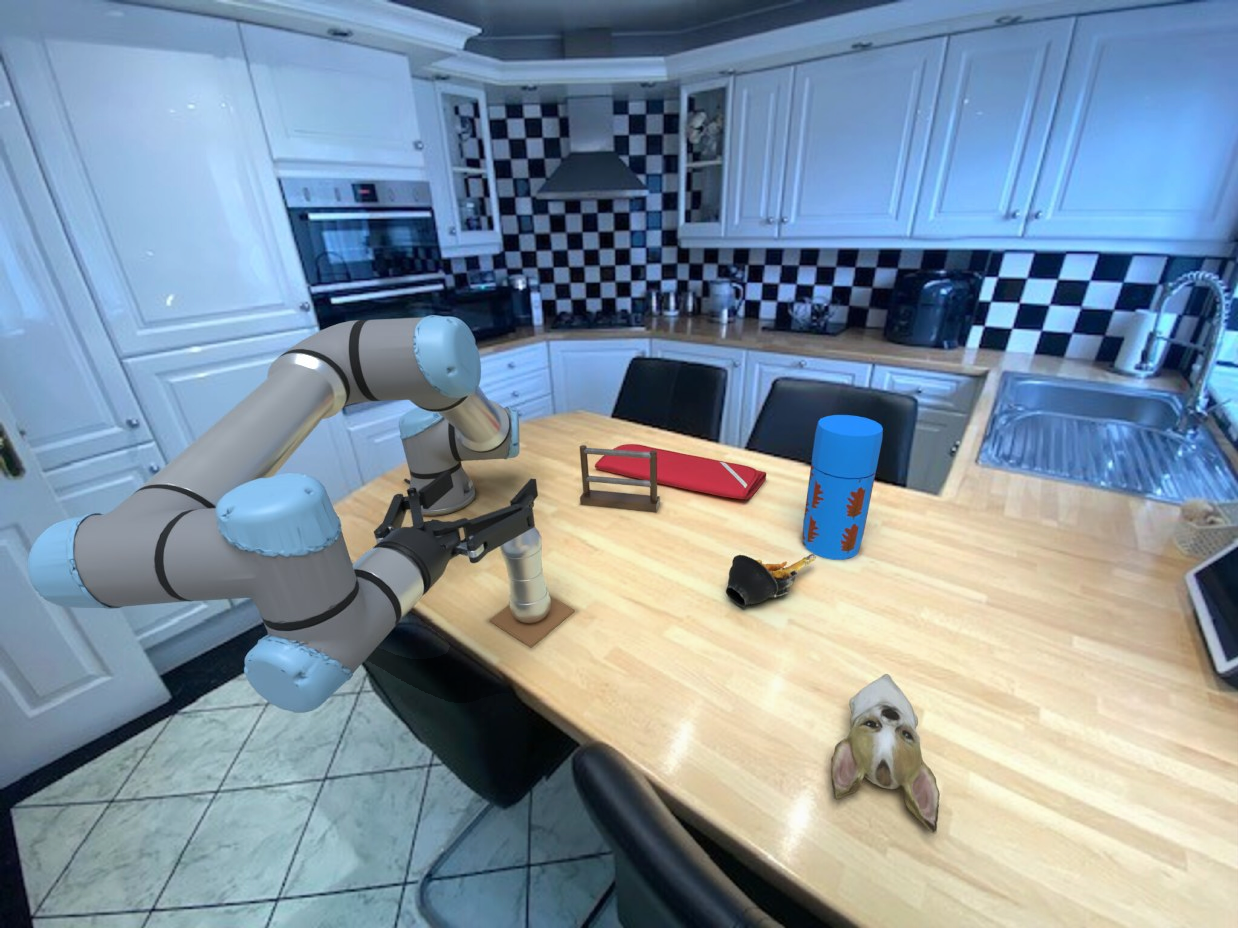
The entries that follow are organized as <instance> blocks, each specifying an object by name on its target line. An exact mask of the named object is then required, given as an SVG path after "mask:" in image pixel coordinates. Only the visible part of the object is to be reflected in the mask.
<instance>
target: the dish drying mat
mask: <svg viewBox="0 0 1238 928" xmlns="http://www.w3.org/2000/svg"><path fill="white" fill-rule="evenodd" d="M612 450H626V451H639V452H650V451H651V450H655V451H657V484H660V485H666V486H670V487H675V488H681V489H685V490H690V491H695V492H700V493H705V494H710V495H715V496H719V497H725V498H730V499H731V498H732V499H739V500H750V499H751V498H752V497H753V496H754V495H755V493H756V492H757V491H758V490H759V488H760V487H761V486H762V485H763V484H764V483H765V482H766V479H767V472H766V471H762V470H758V469H756V468H754V467H752V466H749V465H744V464H740V463H734V462H728V461H723V460H718V459H713V458H709V457H703V456H698V455H693V454H687V453H683V452H678V451H673V450H667V449H662V448H656V447H652V446H648V445H644V444H639V443H637V444H636V443H627V444H626V443H625V444H621V445H618V446H616V447H614V448H613V449H612ZM594 468H595V469H596V470H599V471H605V472H609V473H613V474H616V475H621V476H625V477H631V478H634V479H637V480H646V481H650V459H647V458H634V457H620V456H607V455H602V457H600V458H599V459H598V461H596V463H595V464H594Z"/></svg>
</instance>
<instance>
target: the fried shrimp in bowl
mask: <svg viewBox="0 0 1238 928" xmlns="http://www.w3.org/2000/svg"><path fill="white" fill-rule="evenodd" d="M816 556H817V555H816V554H814V553H811V554H809V555H807V556H806V557H803V558H802V559H801V560H799V561H797V562H795V563H793V564H791V565H789V566H787V564H788V561H783V562H782V563H763V560H762V559H755V558H753V557H751V556H747V555H745V554H737V555H735V556H734V557H733V558H732V565H731V566H730V569H729V570H728V580H727V587H726V588H725V594H726V596H727V597H728V599H730V600H731V601H732V602H733V603H734V604H736V605H737V606H738V607H740V608H745V607H746V606H747V605H755V604H760V603H762V602H763V601H765V600H767V599H768V598H770V599H774V598H777V597H781V596H783V595H786V594H788V593H789V591H790V590H789V588H790V587H791V586H792V585H793V584H794V583H795V581H796V578H797V576H798V574H799V573H798V572H799V571H800V570H801V569H802V568H803V567H804V566H807V565H809V564H810V563H812V562H814V561H816V558H817V557H816ZM785 566H786V567H785Z"/></svg>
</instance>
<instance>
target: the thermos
mask: <svg viewBox="0 0 1238 928" xmlns="http://www.w3.org/2000/svg"><path fill="white" fill-rule="evenodd" d="M883 432H884V428H883V426H882V424H881V423H879V422H877V421H876V420H873V419H871V418H867V417H864V416H863V417H862V416H858V415H850V414H834V415H826V416H824V417H821V418H820V419H819V420H818V421H817V424H816V428H815V433H814V440H813V447H812V456H811V463H810V472H809V477H808V484H807V492H806V500H805V507H804V515H803V523H802V538H801V539H802V544H803V546H804V547H805V549H806V550H807V551H809V552H811V554H814V555H815V556H819V557H821V558H825V559H830V560H839V561H840V560H842V561H843V560H848V559H853V558H854V557H855V556H857V555H858V553H859V551H860V548H861V544H862V541H863V537H864V534H865V529H866V524H867V519H868V514H869V509H870V503H871V498H872V493H873V488H874V484H875V479H876V473H877V468H878V463H879V457H880V453H881V447H882V443H883V438H884V437H883V436H884V435H883V434H884V433H883Z"/></svg>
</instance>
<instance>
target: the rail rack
mask: <svg viewBox="0 0 1238 928" xmlns="http://www.w3.org/2000/svg"><path fill="white" fill-rule="evenodd" d="M588 455H595V456H604V455H607V456H620V457H634V458H647V459H650V481H647V480H642V479H635V478H634V479H633V478H622V477H610V476H601V475H600V476H599V475H590V473H589V472H590V471H589V459H588ZM579 458H580V470H581V482H582V494H581V495H580V496H579V501H580V504H579V505H581V506H591V507H598V508H599V507H600V508H608V509H617V510H618V509H619V510H628V511H639V512H647V513H657V512H658V510H659V507H660V505H661V496H660V495H658V483H657V451H655V450H651V451H650V452H639V451H626V450H612V449H610V448H598V447H597V448H596V447H587V445H586V444H581V445H580V446H579ZM590 483H599V484H610V485H621V486H632V487H643V488H649V494H641V493H640V494H638V493H631V492H630V493H629V492H620V491H619V492H618V491H608V490H597V489H591V487H590V486H591V485H590Z"/></svg>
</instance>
